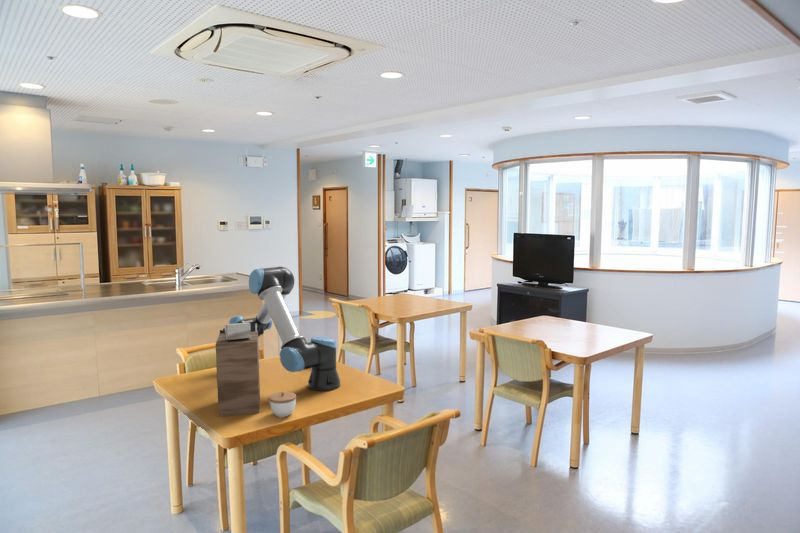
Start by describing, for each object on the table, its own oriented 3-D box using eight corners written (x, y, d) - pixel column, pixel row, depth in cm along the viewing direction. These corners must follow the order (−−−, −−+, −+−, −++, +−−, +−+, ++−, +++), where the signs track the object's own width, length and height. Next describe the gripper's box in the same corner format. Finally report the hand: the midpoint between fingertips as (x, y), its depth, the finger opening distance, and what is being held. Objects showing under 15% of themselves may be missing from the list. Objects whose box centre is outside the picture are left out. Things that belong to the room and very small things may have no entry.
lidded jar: (264, 415, 221) (263, 393, 220) (283, 407, 230) (282, 386, 229) (283, 421, 215) (282, 398, 214) (302, 413, 224) (301, 390, 223)
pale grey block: (251, 337, 224) (250, 323, 225) (228, 340, 220) (227, 325, 221) (239, 333, 250) (238, 320, 250) (219, 335, 246) (218, 322, 246)
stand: (259, 412, 225) (256, 341, 221) (218, 416, 221) (215, 343, 218) (260, 397, 243) (257, 331, 240) (222, 400, 239) (219, 333, 236)
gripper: (269, 345, 275) (268, 333, 256) (217, 348, 269) (212, 336, 250) (268, 331, 278) (268, 318, 259) (217, 333, 272) (212, 320, 253)
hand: (240, 326), depth 254 cm, fingers open, 13 cm apart
